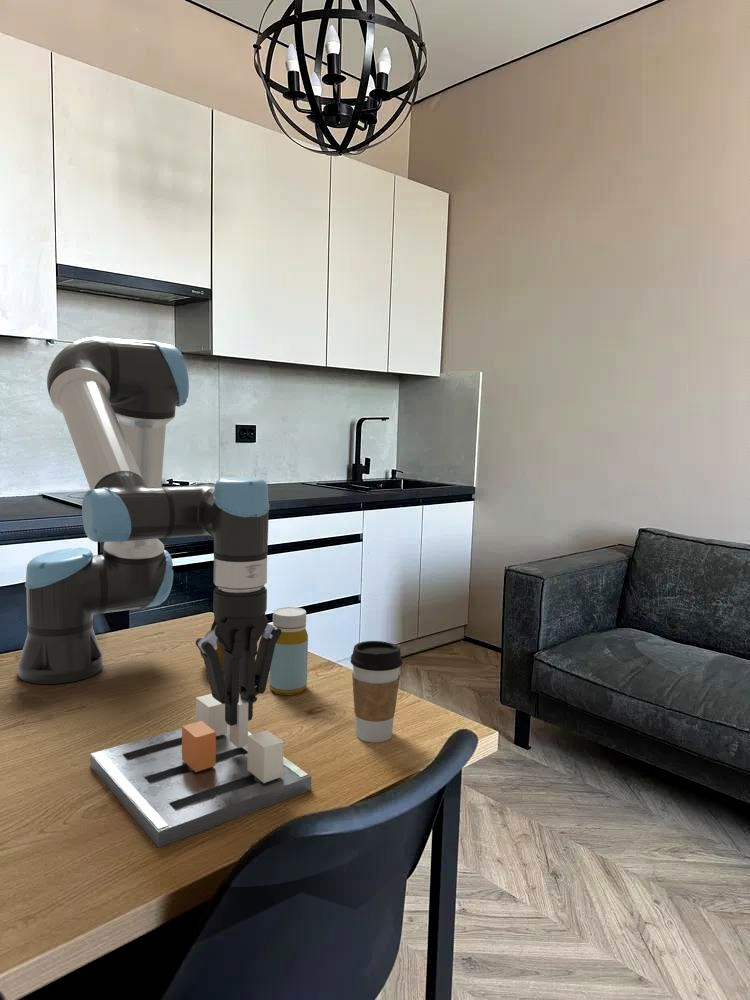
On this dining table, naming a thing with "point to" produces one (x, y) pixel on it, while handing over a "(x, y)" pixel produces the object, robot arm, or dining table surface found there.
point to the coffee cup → (375, 688)
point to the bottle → (289, 652)
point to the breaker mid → (198, 746)
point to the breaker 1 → (211, 713)
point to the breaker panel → (188, 785)
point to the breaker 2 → (265, 756)
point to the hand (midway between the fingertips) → (238, 742)
